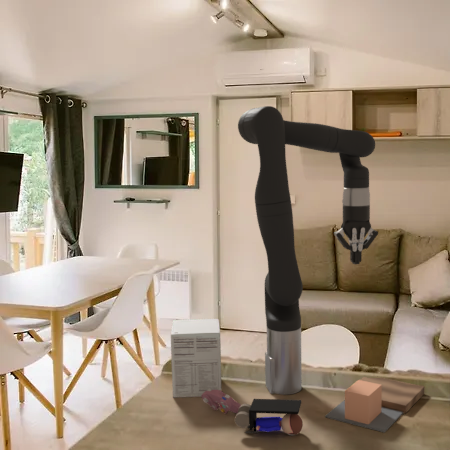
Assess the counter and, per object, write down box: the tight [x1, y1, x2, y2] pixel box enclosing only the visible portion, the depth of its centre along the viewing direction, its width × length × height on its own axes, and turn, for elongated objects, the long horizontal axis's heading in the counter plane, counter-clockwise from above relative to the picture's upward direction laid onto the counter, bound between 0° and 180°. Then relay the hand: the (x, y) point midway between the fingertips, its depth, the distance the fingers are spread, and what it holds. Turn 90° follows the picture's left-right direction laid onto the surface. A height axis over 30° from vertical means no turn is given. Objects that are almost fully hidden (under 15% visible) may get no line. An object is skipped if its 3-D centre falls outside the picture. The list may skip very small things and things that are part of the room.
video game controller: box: [200, 389, 242, 415], centre depth 160 cm, size 10×5×7 cm
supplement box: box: [170, 318, 222, 398], centre depth 175 cm, size 13×13×18 cm
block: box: [344, 379, 382, 424], centre depth 155 cm, size 7×6×8 cm
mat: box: [324, 399, 404, 433], centre depth 156 cm, size 12×15×1 cm
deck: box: [359, 376, 425, 414], centre depth 167 cm, size 14×16×2 cm
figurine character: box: [234, 398, 304, 436], centre depth 148 cm, size 7×8×15 cm
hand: (355, 263), depth 183 cm, fingers closed
